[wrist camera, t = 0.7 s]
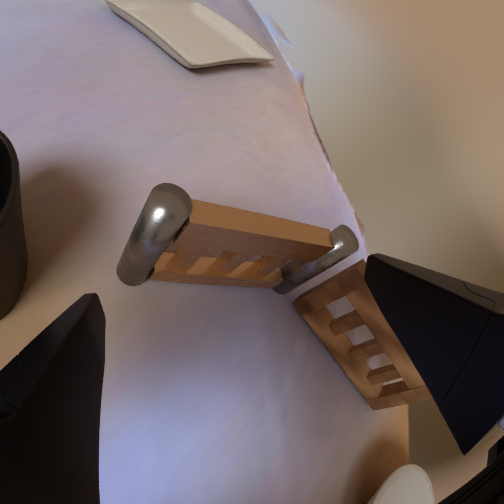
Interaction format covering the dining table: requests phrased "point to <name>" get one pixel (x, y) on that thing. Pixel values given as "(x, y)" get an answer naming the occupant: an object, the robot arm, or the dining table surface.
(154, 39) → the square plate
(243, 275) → the wooden fence panel
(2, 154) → the mug
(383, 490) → the dish
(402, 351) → the gate
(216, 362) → the dining table surface
